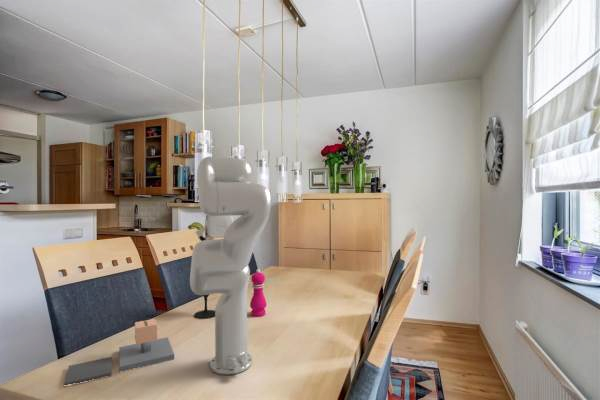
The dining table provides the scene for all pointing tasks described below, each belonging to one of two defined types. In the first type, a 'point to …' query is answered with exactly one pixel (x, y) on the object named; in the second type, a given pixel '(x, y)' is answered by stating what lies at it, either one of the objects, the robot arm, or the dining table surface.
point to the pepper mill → (258, 295)
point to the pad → (89, 370)
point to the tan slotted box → (145, 331)
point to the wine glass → (205, 311)
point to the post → (145, 347)
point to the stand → (145, 354)
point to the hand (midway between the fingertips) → (219, 252)
